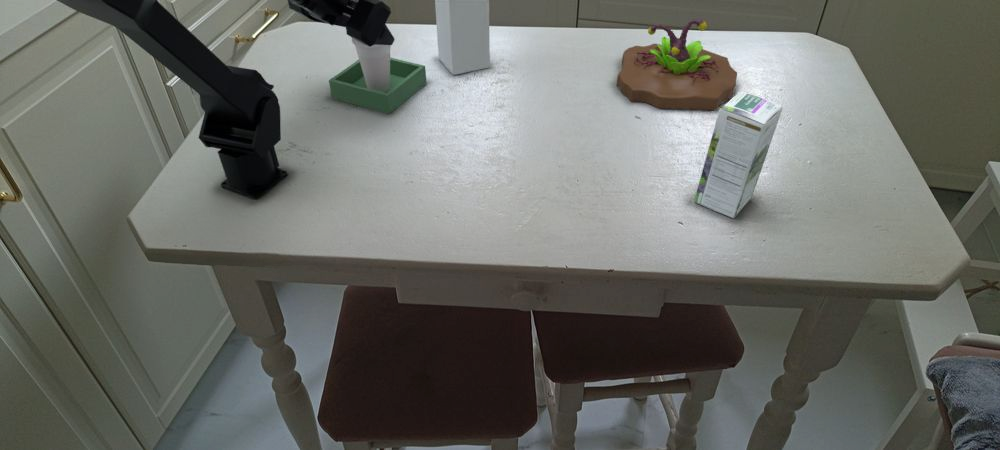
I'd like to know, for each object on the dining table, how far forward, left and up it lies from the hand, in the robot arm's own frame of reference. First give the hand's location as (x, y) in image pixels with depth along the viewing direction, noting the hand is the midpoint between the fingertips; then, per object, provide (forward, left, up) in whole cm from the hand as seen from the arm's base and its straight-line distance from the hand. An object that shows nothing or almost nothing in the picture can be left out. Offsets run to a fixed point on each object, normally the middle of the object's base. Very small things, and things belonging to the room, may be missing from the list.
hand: (373, 33), depth 102 cm
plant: (+25, -44, -10) cm, 51 cm away
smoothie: (0, 0, -10) cm, 10 cm away
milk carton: (+15, -8, -10) cm, 20 cm away
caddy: (0, 0, -10) cm, 10 cm away
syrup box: (-5, -58, -10) cm, 59 cm away
